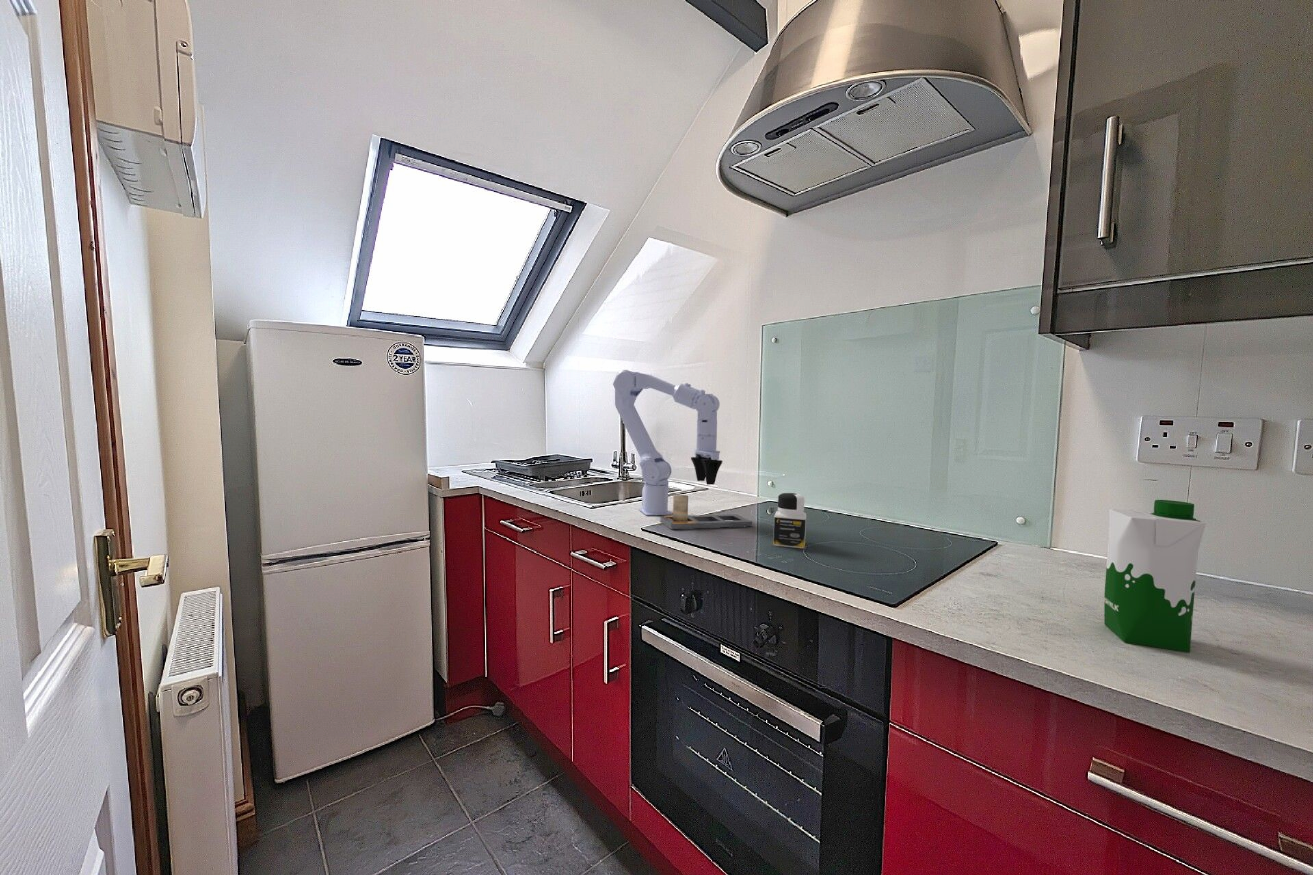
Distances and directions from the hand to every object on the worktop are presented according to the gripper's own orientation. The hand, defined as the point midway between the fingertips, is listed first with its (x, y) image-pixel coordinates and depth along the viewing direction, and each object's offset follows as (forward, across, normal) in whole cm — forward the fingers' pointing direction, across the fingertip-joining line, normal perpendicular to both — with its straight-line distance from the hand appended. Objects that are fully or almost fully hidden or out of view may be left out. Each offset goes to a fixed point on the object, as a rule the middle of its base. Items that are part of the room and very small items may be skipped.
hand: (705, 482), depth 151 cm
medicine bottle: (+11, -31, -10) cm, 34 cm away
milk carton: (+11, -89, -34) cm, 96 cm away
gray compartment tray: (+10, -8, +3) cm, 13 cm away
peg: (+10, -8, +10) cm, 17 cm away
